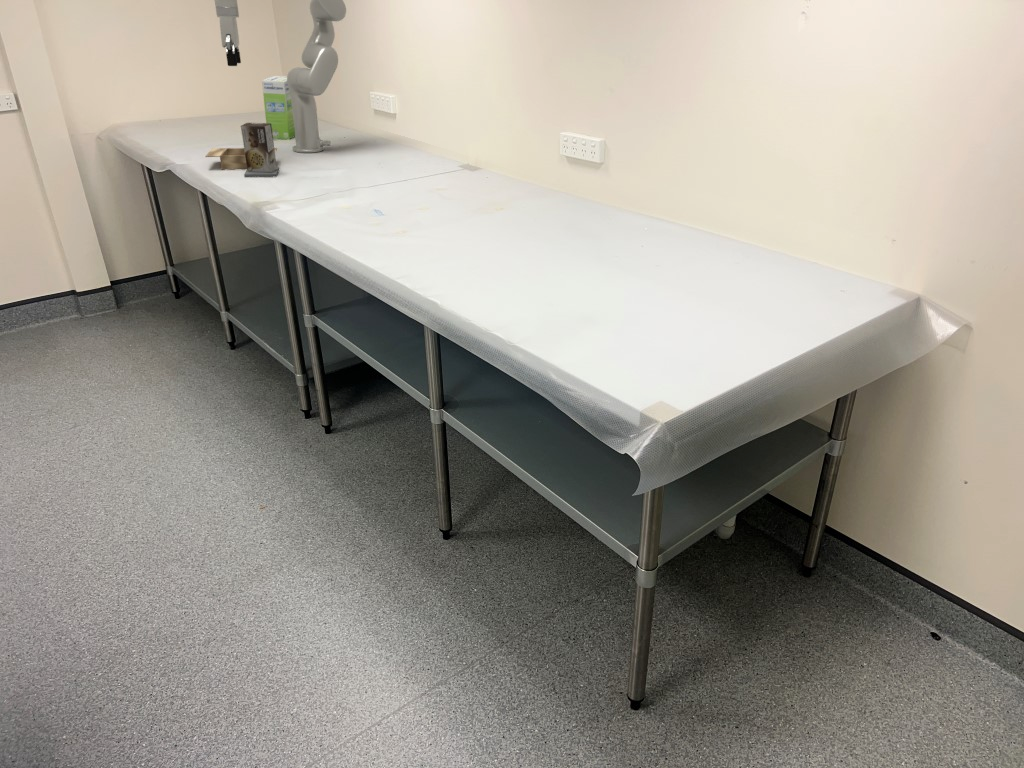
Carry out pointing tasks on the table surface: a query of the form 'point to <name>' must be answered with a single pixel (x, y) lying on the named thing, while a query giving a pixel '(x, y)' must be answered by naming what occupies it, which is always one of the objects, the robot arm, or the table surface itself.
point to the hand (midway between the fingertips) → (234, 64)
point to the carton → (230, 157)
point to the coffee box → (259, 147)
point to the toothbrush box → (278, 107)
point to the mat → (261, 173)
